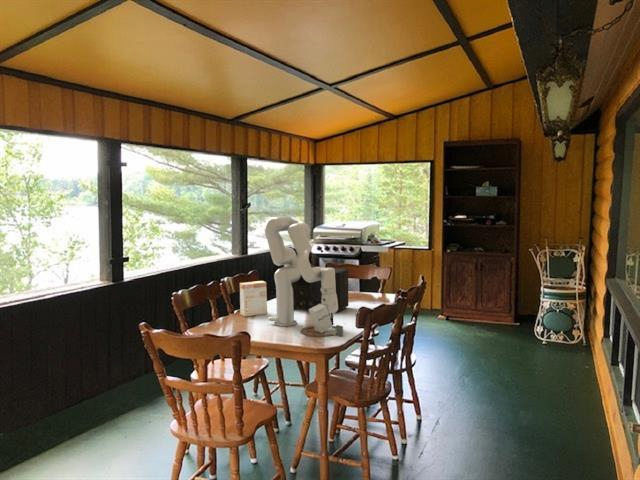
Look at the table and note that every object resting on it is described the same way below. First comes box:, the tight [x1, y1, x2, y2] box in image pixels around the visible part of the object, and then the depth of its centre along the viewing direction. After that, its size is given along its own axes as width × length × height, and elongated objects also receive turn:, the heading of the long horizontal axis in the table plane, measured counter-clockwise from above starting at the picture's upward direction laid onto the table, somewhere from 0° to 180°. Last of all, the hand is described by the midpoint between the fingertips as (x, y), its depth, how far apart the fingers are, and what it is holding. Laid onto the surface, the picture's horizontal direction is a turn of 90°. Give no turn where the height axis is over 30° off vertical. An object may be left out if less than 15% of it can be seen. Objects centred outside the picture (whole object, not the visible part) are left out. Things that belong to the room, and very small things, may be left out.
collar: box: [300, 324, 344, 338], centre depth 282 cm, size 22×26×5 cm
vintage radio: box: [291, 266, 349, 313], centre depth 341 cm, size 38×20×25 cm, turn 69°
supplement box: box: [308, 304, 334, 334], centre depth 283 cm, size 7×7×13 cm
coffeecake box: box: [239, 280, 268, 317], centre depth 328 cm, size 15×7×20 cm, turn 118°
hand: (330, 325), depth 288 cm, fingers closed
